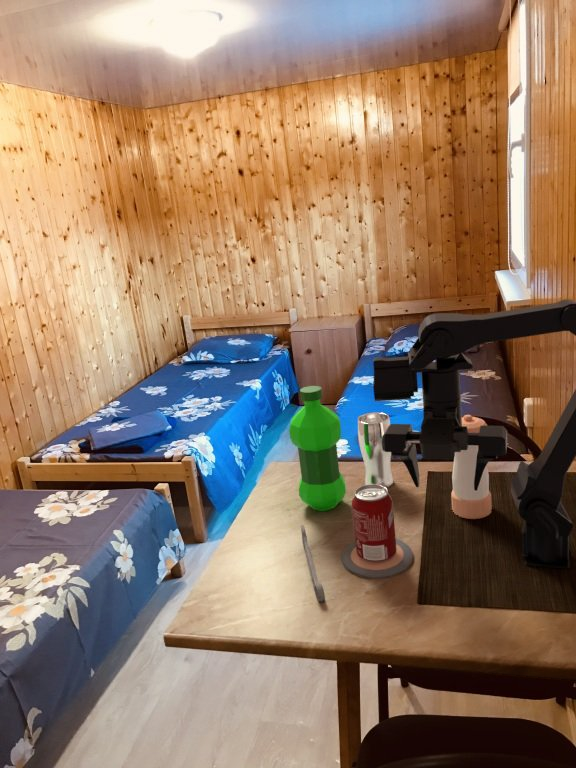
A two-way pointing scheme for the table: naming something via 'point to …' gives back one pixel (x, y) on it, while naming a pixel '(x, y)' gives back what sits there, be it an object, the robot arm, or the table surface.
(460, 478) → the pepper shaker
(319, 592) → the combination wrench
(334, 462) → the plastic bottle
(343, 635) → the table surface
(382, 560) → the soda can
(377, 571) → the coaster
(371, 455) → the beer glass
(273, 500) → the table surface
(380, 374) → the robot arm
